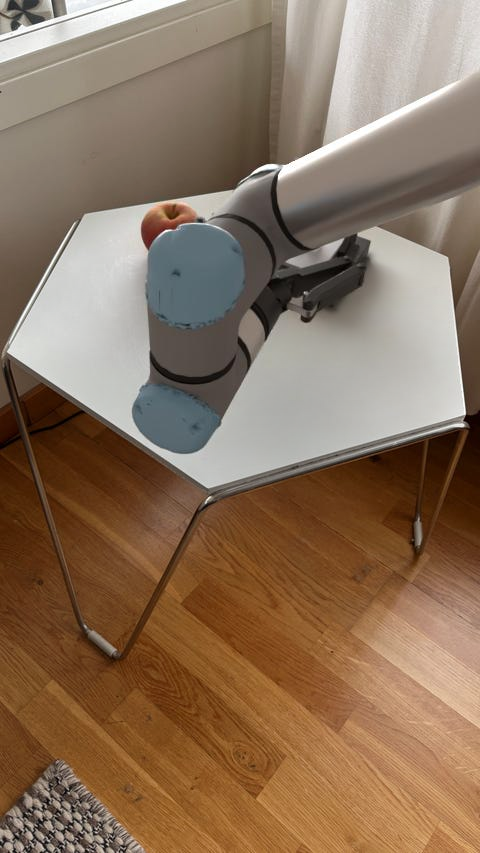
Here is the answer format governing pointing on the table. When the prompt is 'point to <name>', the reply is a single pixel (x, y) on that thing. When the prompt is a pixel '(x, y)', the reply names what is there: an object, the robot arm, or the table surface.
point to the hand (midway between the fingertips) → (300, 215)
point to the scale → (326, 255)
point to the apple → (165, 220)
